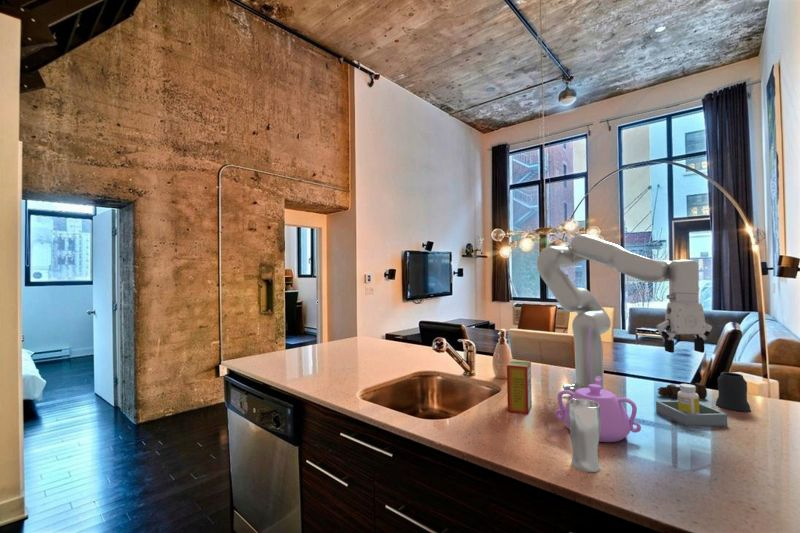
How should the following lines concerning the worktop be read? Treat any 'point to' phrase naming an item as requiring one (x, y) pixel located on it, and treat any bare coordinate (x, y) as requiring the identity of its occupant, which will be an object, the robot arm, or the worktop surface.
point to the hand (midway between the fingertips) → (684, 351)
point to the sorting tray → (692, 415)
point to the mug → (732, 392)
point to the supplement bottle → (688, 399)
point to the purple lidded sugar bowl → (603, 411)
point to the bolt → (673, 390)
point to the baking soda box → (519, 387)
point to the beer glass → (585, 433)
